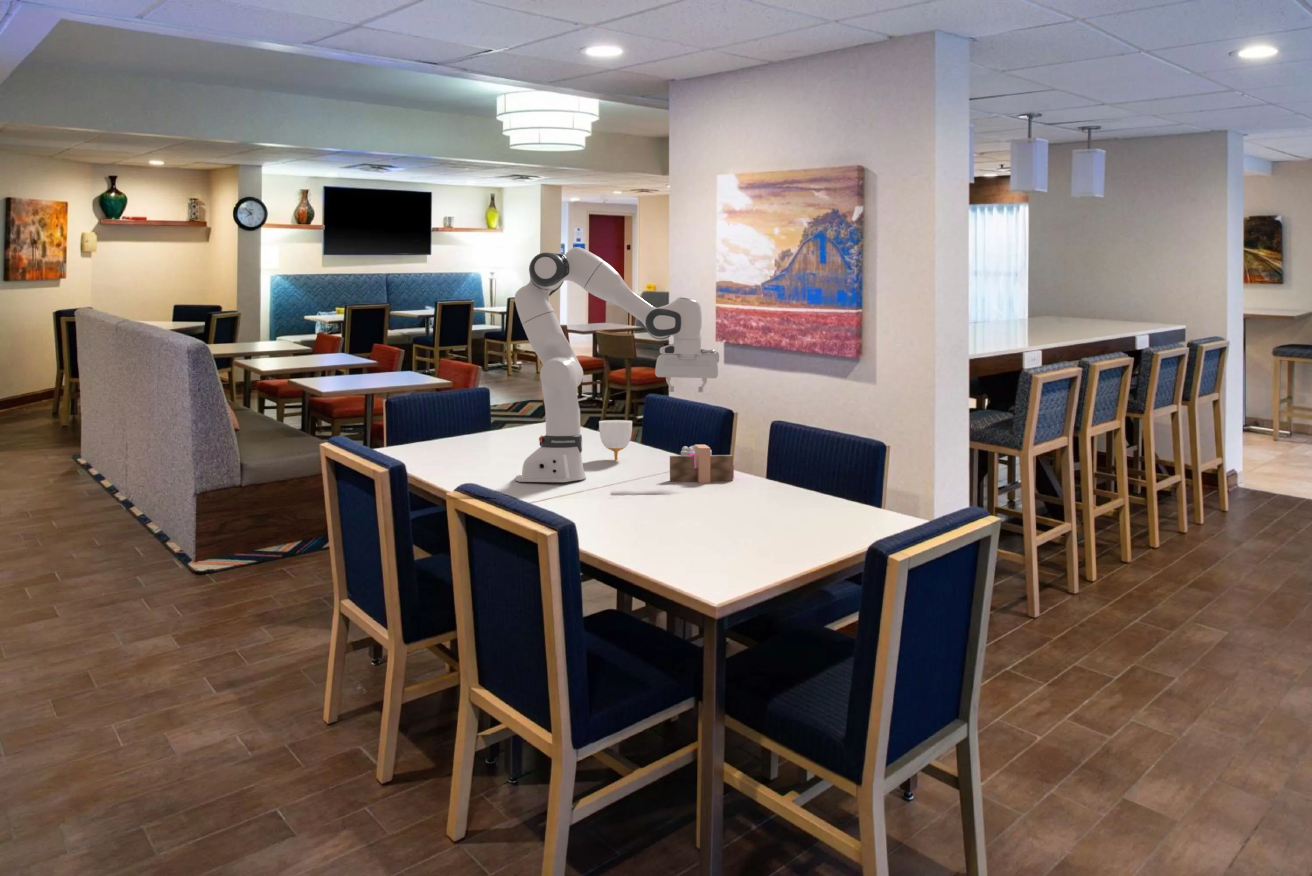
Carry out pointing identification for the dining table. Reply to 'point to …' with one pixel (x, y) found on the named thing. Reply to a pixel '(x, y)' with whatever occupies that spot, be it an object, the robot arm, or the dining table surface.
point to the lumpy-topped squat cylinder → (689, 450)
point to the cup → (615, 434)
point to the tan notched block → (702, 463)
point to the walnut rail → (685, 469)
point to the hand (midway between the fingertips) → (686, 392)
